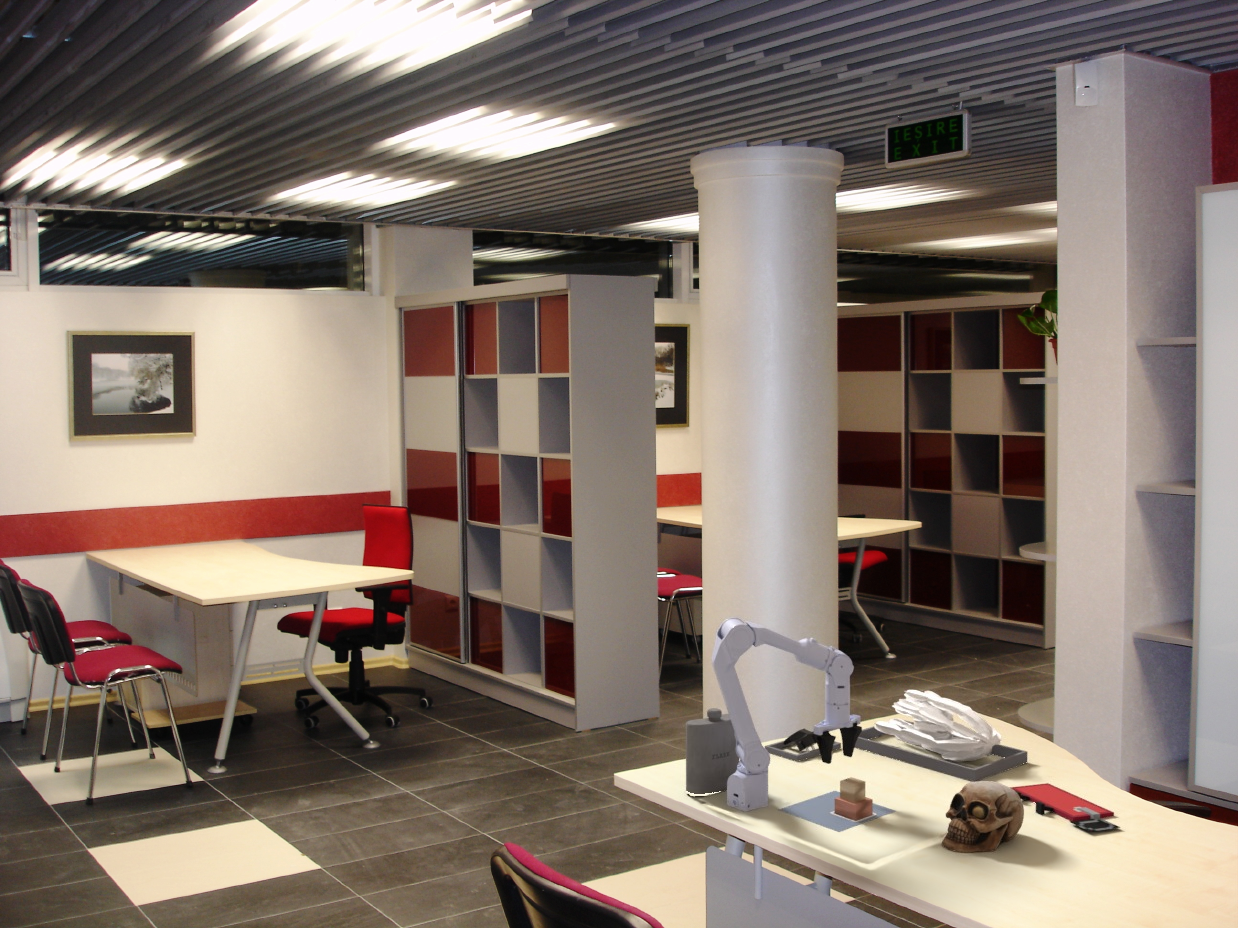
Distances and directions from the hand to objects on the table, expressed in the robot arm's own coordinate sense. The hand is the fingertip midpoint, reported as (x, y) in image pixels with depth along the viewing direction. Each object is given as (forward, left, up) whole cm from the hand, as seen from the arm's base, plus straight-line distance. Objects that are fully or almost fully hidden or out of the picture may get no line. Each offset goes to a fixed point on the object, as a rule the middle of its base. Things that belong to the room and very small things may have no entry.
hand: (837, 759), depth 274 cm
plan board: (-6, -5, -10) cm, 13 cm away
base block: (-5, -9, -9) cm, 14 cm away
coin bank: (+5, -35, -11) cm, 37 cm away
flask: (-16, +25, -11) cm, 32 cm away
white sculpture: (+50, +8, -11) cm, 52 cm away
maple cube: (-5, -9, -6) cm, 12 cm away
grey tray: (+49, +8, -10) cm, 51 cm away
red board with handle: (+37, -37, -11) cm, 53 cm away
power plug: (+24, +34, -11) cm, 43 cm away
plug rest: (+25, +33, -10) cm, 43 cm away
